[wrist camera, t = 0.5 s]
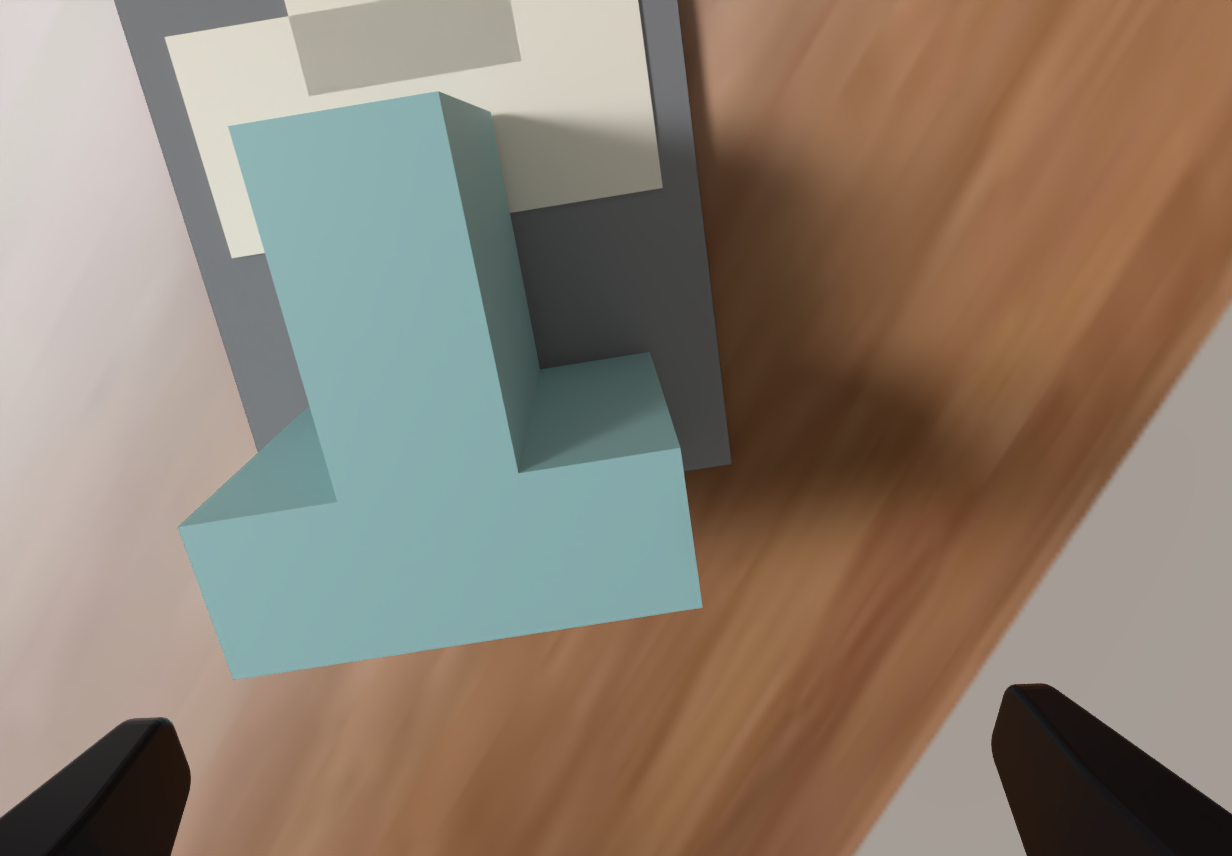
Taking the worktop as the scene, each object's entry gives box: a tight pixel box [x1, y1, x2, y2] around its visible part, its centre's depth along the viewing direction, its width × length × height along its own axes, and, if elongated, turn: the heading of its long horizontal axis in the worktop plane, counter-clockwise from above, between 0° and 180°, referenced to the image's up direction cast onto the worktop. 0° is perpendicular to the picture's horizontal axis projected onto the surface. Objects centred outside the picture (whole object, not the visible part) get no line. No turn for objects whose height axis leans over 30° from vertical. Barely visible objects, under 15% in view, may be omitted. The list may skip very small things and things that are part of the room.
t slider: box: [178, 91, 702, 680], centre depth 19 cm, size 11×10×8 cm
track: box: [114, 0, 732, 472], centre depth 21 cm, size 22×14×4 cm, turn 9°
